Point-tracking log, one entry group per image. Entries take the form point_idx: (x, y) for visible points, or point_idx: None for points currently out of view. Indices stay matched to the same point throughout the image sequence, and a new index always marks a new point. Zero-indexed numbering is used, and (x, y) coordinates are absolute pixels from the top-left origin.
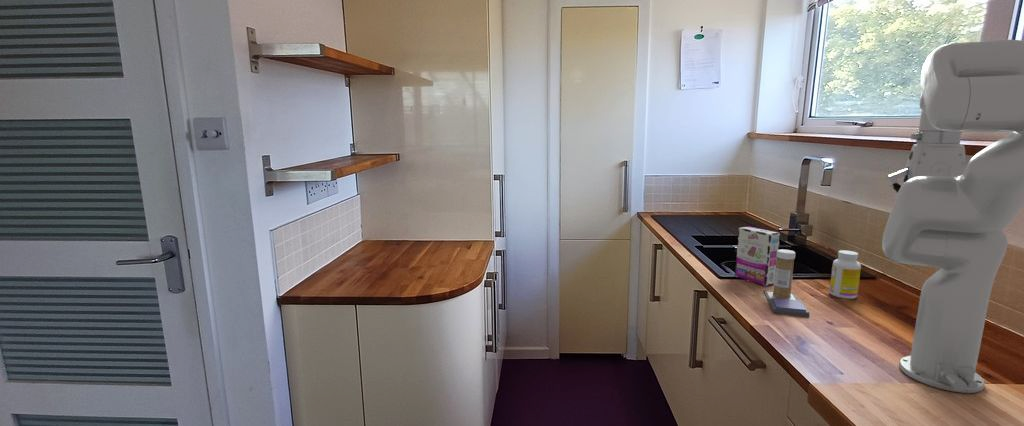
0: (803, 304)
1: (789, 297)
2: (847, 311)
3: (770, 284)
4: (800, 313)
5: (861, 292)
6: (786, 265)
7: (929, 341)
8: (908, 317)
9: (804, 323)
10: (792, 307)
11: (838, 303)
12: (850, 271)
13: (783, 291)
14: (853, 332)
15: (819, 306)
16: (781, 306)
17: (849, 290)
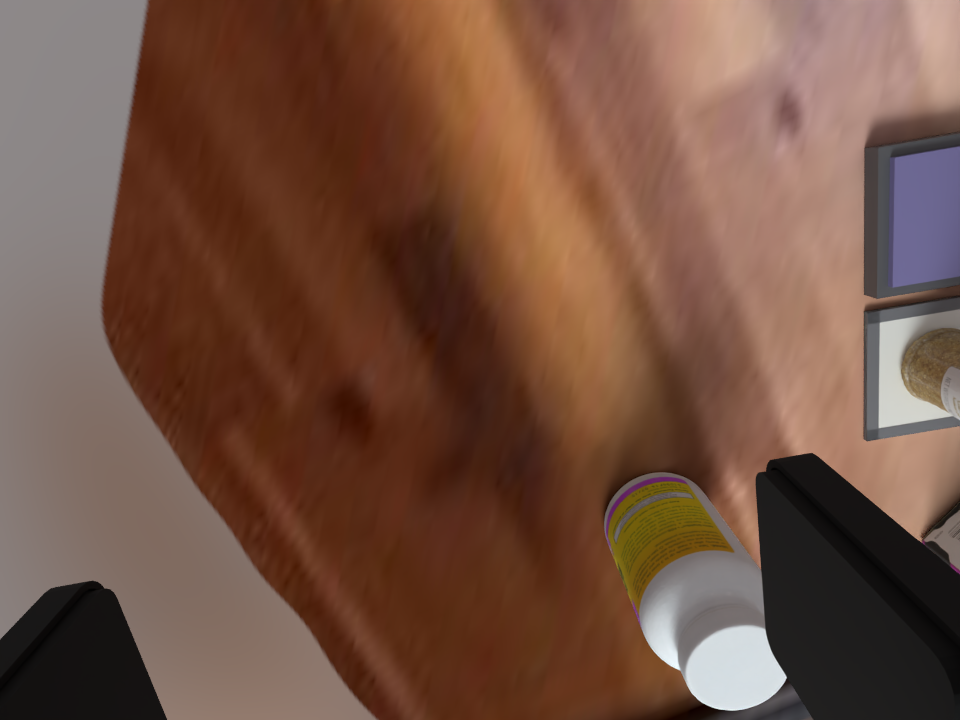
0: (880, 254)
1: (914, 345)
2: (678, 309)
3: (950, 514)
4: (910, 141)
5: (570, 591)
6: None
7: None
8: (446, 350)
9: (904, 44)
10: (953, 162)
11: (695, 401)
12: (696, 544)
13: None
14: (711, 28)
15: (785, 321)
16: None
17: (657, 491)
